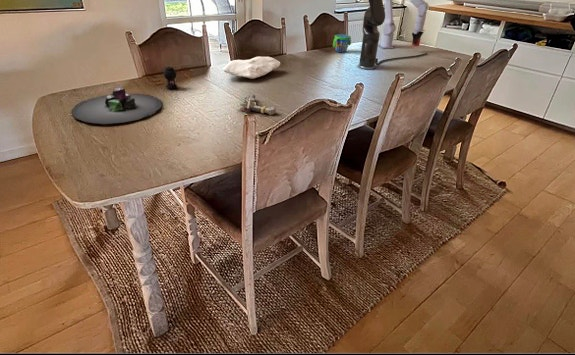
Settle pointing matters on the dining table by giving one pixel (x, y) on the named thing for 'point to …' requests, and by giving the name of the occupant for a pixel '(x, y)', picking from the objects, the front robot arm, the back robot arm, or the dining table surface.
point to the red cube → (416, 43)
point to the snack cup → (341, 42)
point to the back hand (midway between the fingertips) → (415, 43)
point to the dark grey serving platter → (116, 108)
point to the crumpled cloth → (252, 67)
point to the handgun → (255, 106)
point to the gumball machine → (170, 77)
